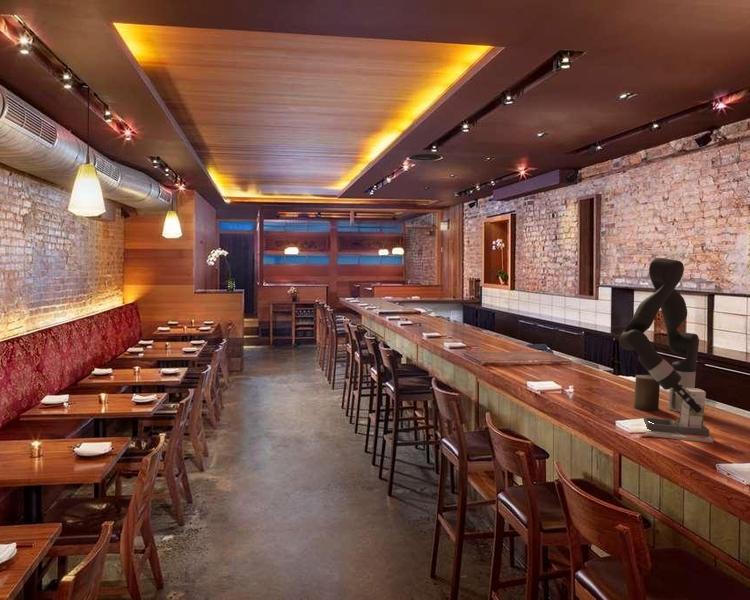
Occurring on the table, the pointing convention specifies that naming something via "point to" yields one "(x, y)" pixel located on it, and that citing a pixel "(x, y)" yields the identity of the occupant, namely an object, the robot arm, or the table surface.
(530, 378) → the table surface
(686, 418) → the syrup box
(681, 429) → the socket board
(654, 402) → the pillar candle
